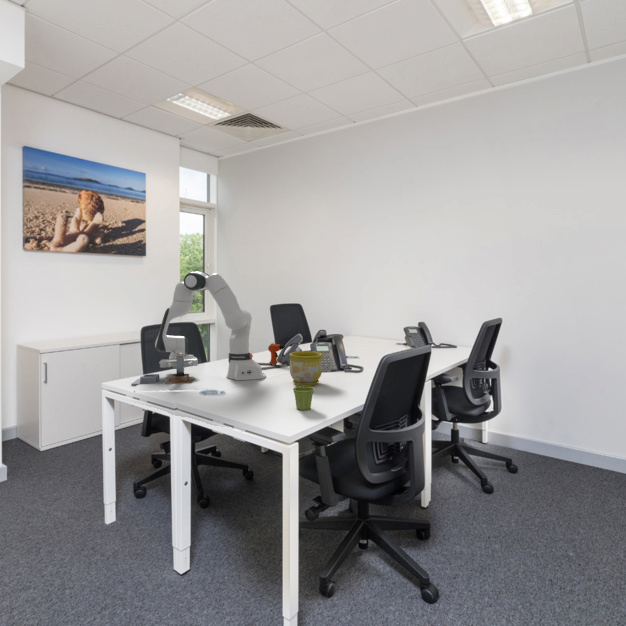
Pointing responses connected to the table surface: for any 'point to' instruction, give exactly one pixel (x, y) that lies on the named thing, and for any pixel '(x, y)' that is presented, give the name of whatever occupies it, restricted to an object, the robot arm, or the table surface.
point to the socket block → (180, 379)
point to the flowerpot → (306, 367)
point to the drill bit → (180, 364)
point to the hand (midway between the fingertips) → (180, 365)
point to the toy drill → (274, 352)
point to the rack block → (149, 379)
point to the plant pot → (303, 397)
